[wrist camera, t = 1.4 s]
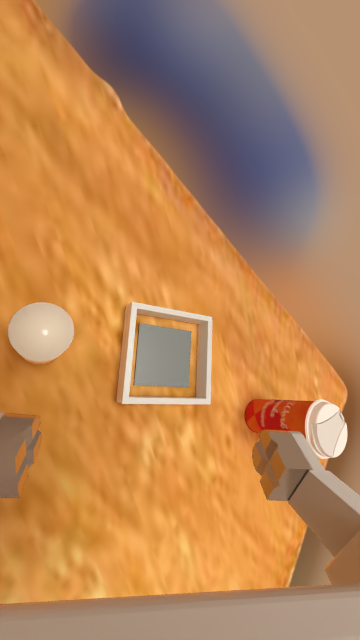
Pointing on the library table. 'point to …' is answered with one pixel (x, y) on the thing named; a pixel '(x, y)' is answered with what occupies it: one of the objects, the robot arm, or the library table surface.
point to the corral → (164, 356)
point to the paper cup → (302, 422)
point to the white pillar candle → (41, 332)
